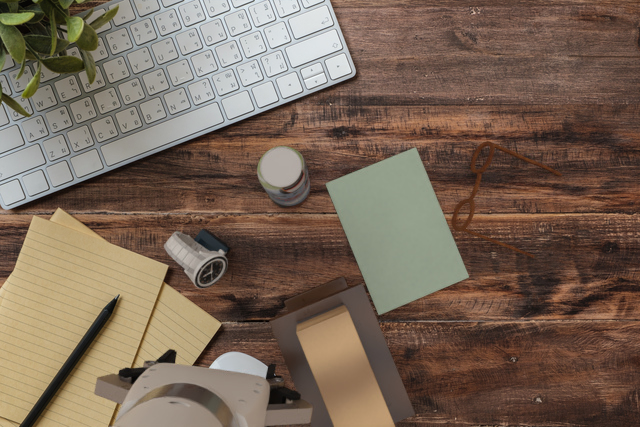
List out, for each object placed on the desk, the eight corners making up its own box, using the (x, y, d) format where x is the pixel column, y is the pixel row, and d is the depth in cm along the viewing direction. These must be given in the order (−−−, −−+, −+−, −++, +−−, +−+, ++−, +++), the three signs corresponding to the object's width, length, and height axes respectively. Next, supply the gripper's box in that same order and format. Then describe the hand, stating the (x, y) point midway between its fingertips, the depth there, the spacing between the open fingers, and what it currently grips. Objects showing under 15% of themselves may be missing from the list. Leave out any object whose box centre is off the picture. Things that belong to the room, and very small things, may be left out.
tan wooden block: (388, 415, 47) (399, 437, 42) (342, 435, 47) (347, 459, 42) (343, 302, 47) (348, 310, 42) (296, 321, 47) (296, 332, 42)
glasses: (476, 143, 69) (490, 136, 64) (560, 173, 69) (580, 169, 64) (447, 229, 68) (458, 229, 63) (532, 259, 69) (550, 262, 64)
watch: (217, 287, 67) (201, 299, 56) (171, 252, 67) (146, 256, 56) (242, 256, 67) (231, 261, 56) (197, 220, 67) (177, 218, 56)
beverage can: (284, 217, 67) (280, 215, 55) (253, 175, 68) (243, 163, 56) (320, 191, 68) (324, 183, 56) (289, 149, 68) (287, 132, 56)
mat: (468, 277, 68) (469, 277, 68) (378, 314, 68) (378, 315, 67) (415, 147, 69) (416, 147, 68) (325, 183, 68) (325, 183, 68)
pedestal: (381, 360, 67) (415, 414, 47) (315, 388, 67) (322, 455, 47) (343, 267, 68) (362, 283, 48) (277, 294, 67) (268, 322, 47)
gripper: (20, 494, 29) (124, 399, 46) (306, 530, 29) (303, 423, 46) (43, 367, 29) (137, 320, 46) (324, 406, 30) (315, 345, 47)
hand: (220, 372), depth 46 cm, fingers open, 9 cm apart
